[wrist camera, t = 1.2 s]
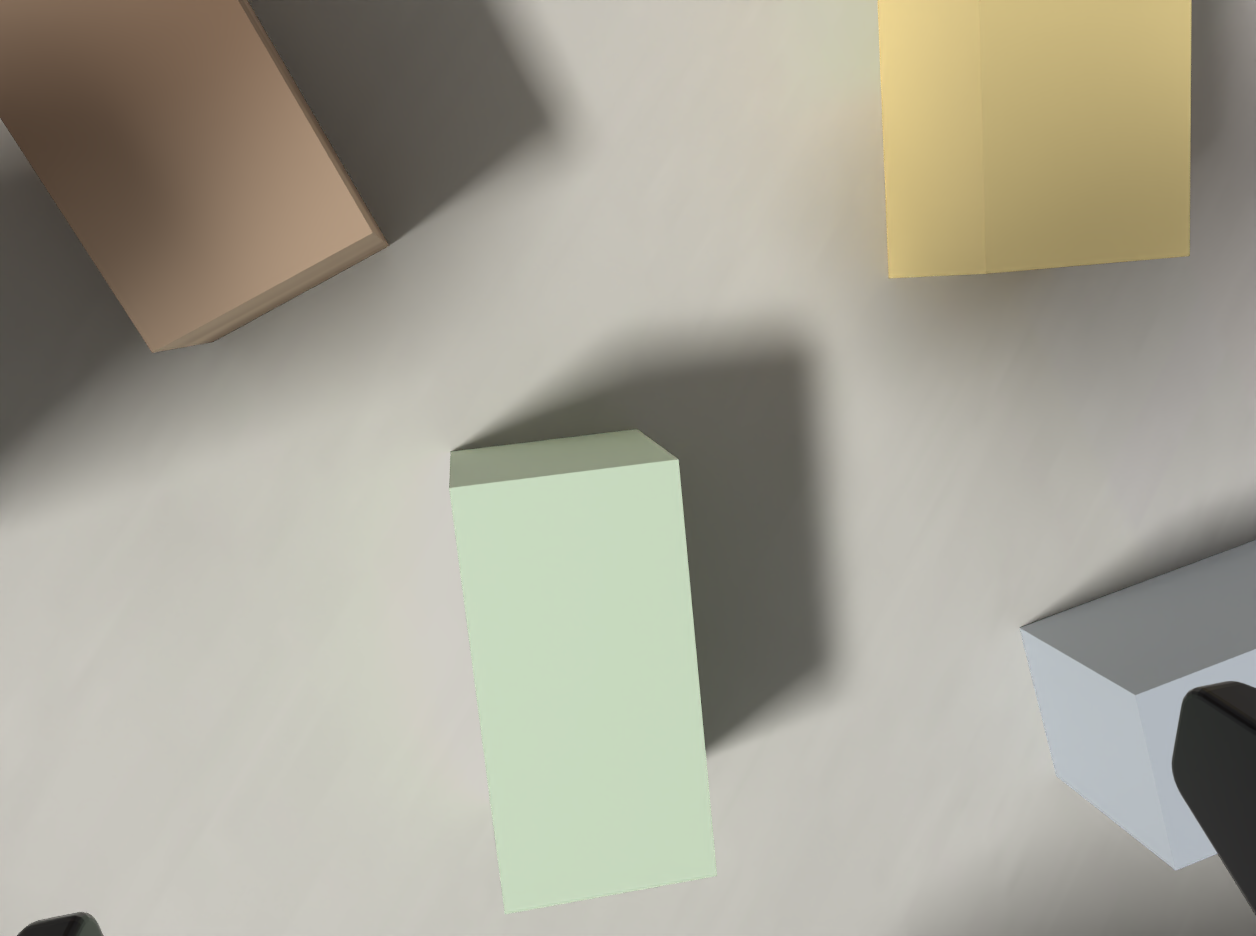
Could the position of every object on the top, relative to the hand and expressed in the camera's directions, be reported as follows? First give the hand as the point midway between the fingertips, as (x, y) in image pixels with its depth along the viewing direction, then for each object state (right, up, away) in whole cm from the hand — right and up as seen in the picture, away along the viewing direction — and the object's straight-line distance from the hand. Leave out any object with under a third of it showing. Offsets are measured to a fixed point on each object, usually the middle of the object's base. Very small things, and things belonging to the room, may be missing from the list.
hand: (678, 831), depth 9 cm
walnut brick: (-8, +9, +10) cm, 15 cm away
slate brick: (+11, -1, +14) cm, 18 cm away
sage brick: (-2, 0, +12) cm, 12 cm away
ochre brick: (+6, +10, +12) cm, 17 cm away
